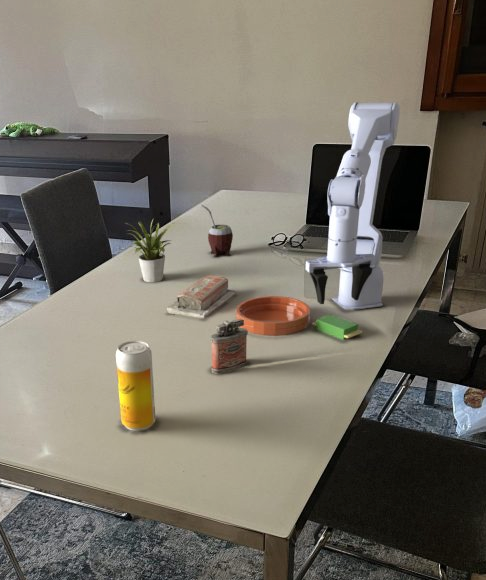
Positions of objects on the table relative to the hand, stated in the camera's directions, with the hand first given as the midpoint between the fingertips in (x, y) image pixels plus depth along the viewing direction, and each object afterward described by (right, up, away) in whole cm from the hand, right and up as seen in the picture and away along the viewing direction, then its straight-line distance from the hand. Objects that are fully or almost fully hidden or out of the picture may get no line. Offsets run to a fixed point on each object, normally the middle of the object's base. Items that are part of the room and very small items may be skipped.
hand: (337, 300), depth 157 cm
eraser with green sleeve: (+1, -7, +3) cm, 8 cm away
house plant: (-40, +13, +42) cm, 60 cm away
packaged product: (-27, +3, +23) cm, 36 cm away
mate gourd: (-20, +23, +57) cm, 65 cm away
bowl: (-12, -3, +10) cm, 16 cm away
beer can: (-42, -27, -25) cm, 56 cm away
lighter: (-24, -15, -8) cm, 29 cm away
